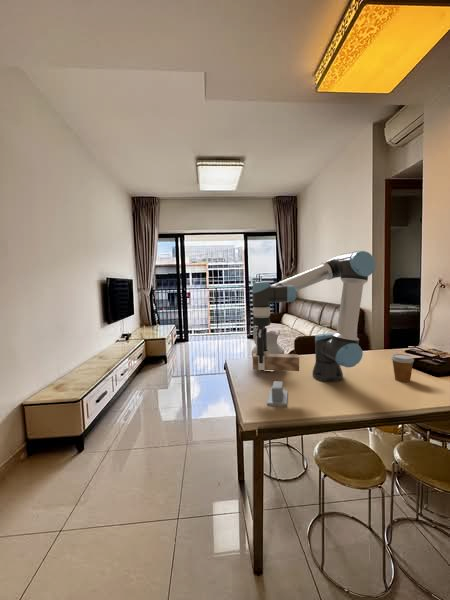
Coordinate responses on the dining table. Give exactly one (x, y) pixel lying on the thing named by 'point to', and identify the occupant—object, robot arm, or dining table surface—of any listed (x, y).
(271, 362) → the walnut bar
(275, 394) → the fulcrum
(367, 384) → the dining table surface
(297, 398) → the dining table surface
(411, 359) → the disposable coffee cup
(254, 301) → the robot arm
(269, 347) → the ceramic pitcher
